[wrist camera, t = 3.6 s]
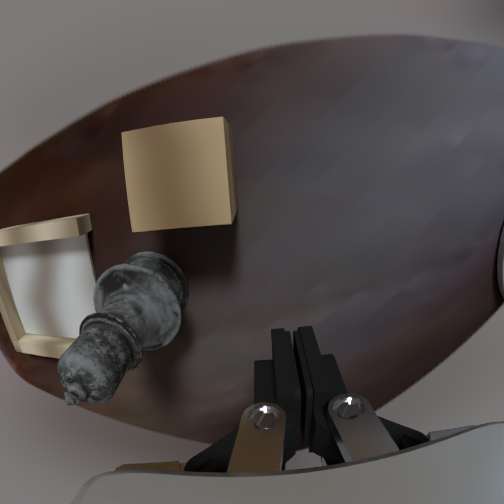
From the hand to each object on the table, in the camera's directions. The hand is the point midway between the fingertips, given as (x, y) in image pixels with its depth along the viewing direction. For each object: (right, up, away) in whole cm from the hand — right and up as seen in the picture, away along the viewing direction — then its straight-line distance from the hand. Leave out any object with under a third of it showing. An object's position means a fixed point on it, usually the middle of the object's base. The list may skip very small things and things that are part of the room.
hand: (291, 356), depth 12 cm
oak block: (-5, +9, +6) cm, 12 cm away
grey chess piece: (-9, +2, +9) cm, 12 cm away
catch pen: (-19, +1, +9) cm, 21 cm away
